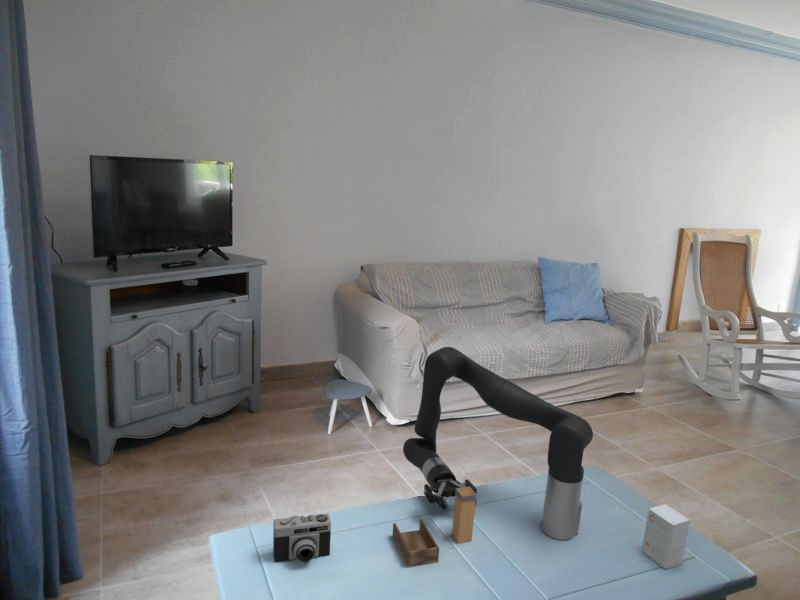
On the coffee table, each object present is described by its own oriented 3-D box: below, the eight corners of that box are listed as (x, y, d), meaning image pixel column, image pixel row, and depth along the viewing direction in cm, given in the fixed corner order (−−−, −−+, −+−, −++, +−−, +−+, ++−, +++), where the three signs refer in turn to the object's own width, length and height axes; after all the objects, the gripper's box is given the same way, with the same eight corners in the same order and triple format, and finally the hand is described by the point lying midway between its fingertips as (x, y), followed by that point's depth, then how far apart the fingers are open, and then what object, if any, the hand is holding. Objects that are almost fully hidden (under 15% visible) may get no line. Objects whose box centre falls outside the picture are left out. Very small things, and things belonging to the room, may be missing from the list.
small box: (682, 564, 158) (691, 520, 155) (665, 570, 155) (673, 525, 152) (657, 545, 165) (665, 503, 162) (640, 551, 162) (648, 508, 159)
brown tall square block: (465, 532, 165) (470, 486, 162) (471, 541, 162) (476, 494, 158) (451, 534, 164) (455, 488, 161) (457, 543, 160) (462, 496, 157)
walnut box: (421, 532, 164) (422, 519, 163) (438, 562, 153) (439, 548, 152) (392, 536, 162) (393, 523, 161) (407, 567, 150) (408, 553, 149)
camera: (275, 573, 145) (275, 536, 143) (272, 551, 153) (273, 516, 150) (332, 565, 149) (334, 530, 147) (327, 544, 157) (328, 510, 154)
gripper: (416, 466, 175) (436, 496, 160) (461, 461, 180) (485, 490, 165) (414, 489, 177) (434, 521, 162) (459, 484, 182) (482, 514, 167)
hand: (460, 505), depth 164 cm, fingers open, 8 cm apart
